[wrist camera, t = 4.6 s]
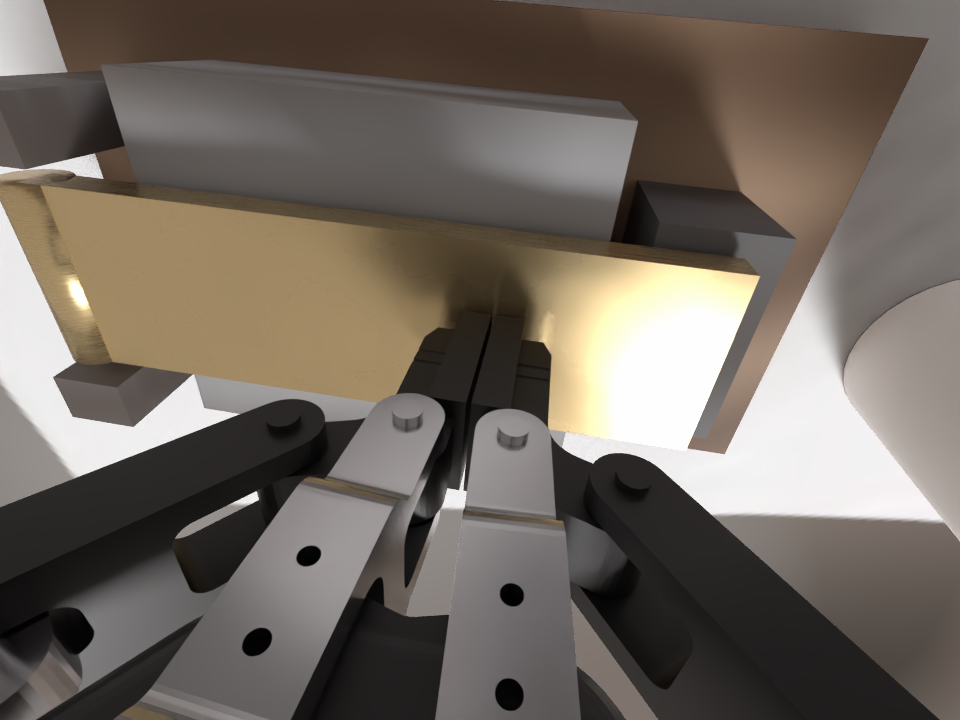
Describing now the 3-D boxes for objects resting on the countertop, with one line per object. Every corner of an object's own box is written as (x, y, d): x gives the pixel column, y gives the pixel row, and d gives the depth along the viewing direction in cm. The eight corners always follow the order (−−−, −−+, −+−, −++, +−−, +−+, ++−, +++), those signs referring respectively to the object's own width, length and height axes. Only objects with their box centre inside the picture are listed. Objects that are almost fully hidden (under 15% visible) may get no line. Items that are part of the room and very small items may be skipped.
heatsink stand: (112, -28, 16) (-274, -88, 9) (866, 39, 14) (1191, 34, 7) (208, 333, 24) (47, 463, 17) (706, 408, 22) (778, 593, 15)
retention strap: (34, 166, 13) (-29, 181, 11) (741, 253, 11) (764, 282, 10) (102, 333, 15) (58, 360, 14) (676, 419, 14) (688, 458, 13)
